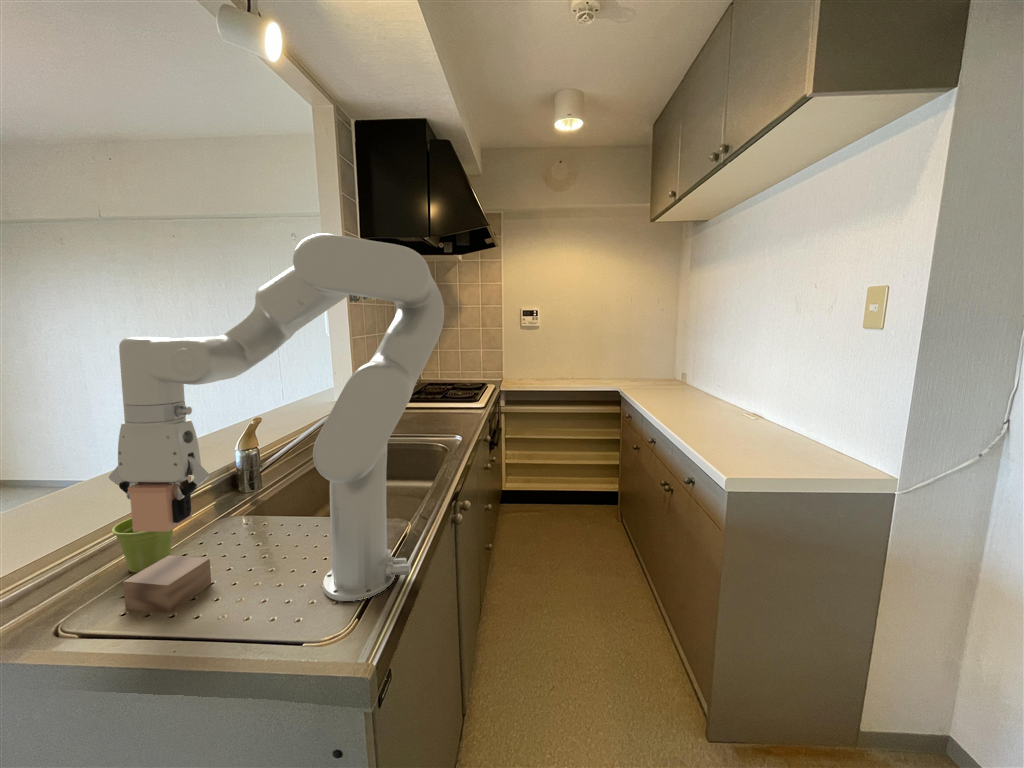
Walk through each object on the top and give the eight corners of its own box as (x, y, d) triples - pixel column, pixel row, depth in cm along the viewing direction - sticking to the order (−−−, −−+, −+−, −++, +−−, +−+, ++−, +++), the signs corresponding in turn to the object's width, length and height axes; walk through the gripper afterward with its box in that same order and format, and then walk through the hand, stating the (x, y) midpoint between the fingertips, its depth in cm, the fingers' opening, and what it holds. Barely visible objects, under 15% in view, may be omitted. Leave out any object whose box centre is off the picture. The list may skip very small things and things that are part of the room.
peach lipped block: (193, 516, 72) (191, 475, 71) (168, 531, 66) (165, 487, 65) (158, 516, 71) (156, 475, 71) (131, 532, 66) (127, 487, 65)
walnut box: (211, 584, 74) (209, 558, 73) (170, 614, 66) (168, 585, 65) (170, 581, 75) (168, 555, 74) (125, 610, 67) (122, 581, 66)
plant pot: (143, 581, 74) (139, 536, 73) (102, 574, 76) (98, 530, 75) (192, 555, 83) (190, 514, 82) (155, 549, 85) (152, 509, 84)
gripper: (225, 409, 71) (230, 510, 73) (120, 408, 70) (127, 509, 72) (195, 418, 63) (201, 529, 66) (76, 416, 62) (86, 530, 64)
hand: (162, 518), depth 69 cm, fingers closed on peach lipped block, 5 cm apart
